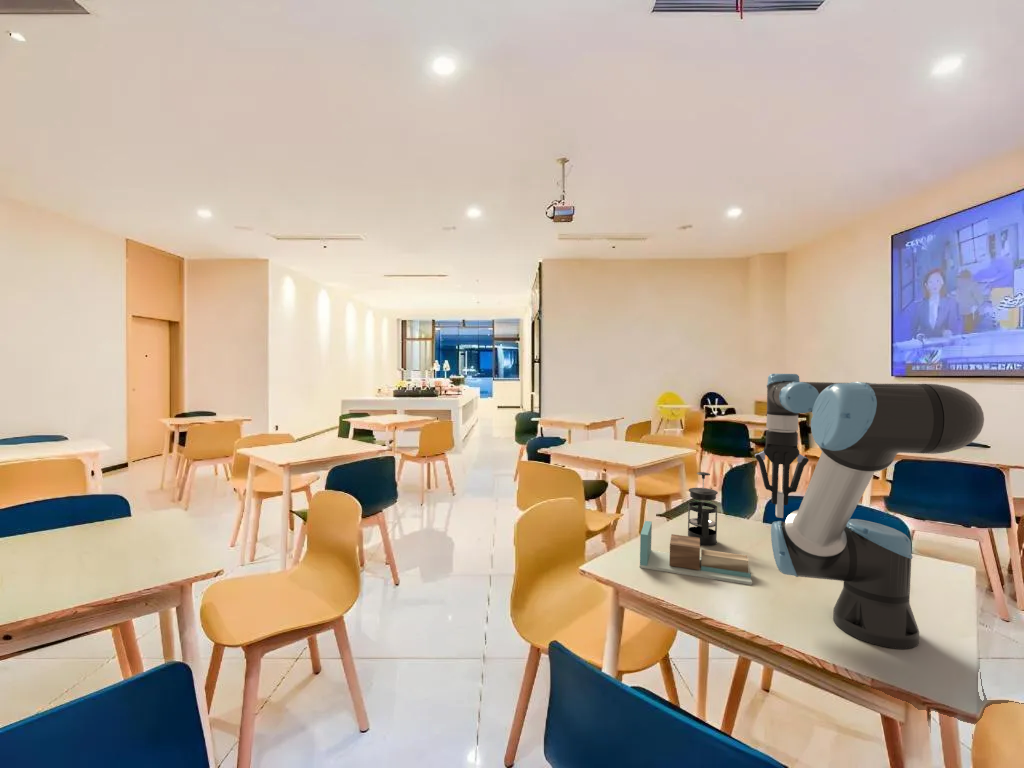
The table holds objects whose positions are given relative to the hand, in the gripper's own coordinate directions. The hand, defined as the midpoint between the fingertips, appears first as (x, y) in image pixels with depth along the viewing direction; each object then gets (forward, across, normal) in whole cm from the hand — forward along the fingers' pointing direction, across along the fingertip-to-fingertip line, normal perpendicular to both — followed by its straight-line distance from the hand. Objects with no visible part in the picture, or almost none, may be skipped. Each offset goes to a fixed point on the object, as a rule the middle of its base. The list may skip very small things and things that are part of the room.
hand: (779, 516), depth 130 cm
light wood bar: (+17, +14, 0) cm, 21 cm away
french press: (+18, +19, -23) cm, 35 cm away
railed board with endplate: (+18, +22, 0) cm, 28 cm away
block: (+16, +24, 0) cm, 29 cm away
